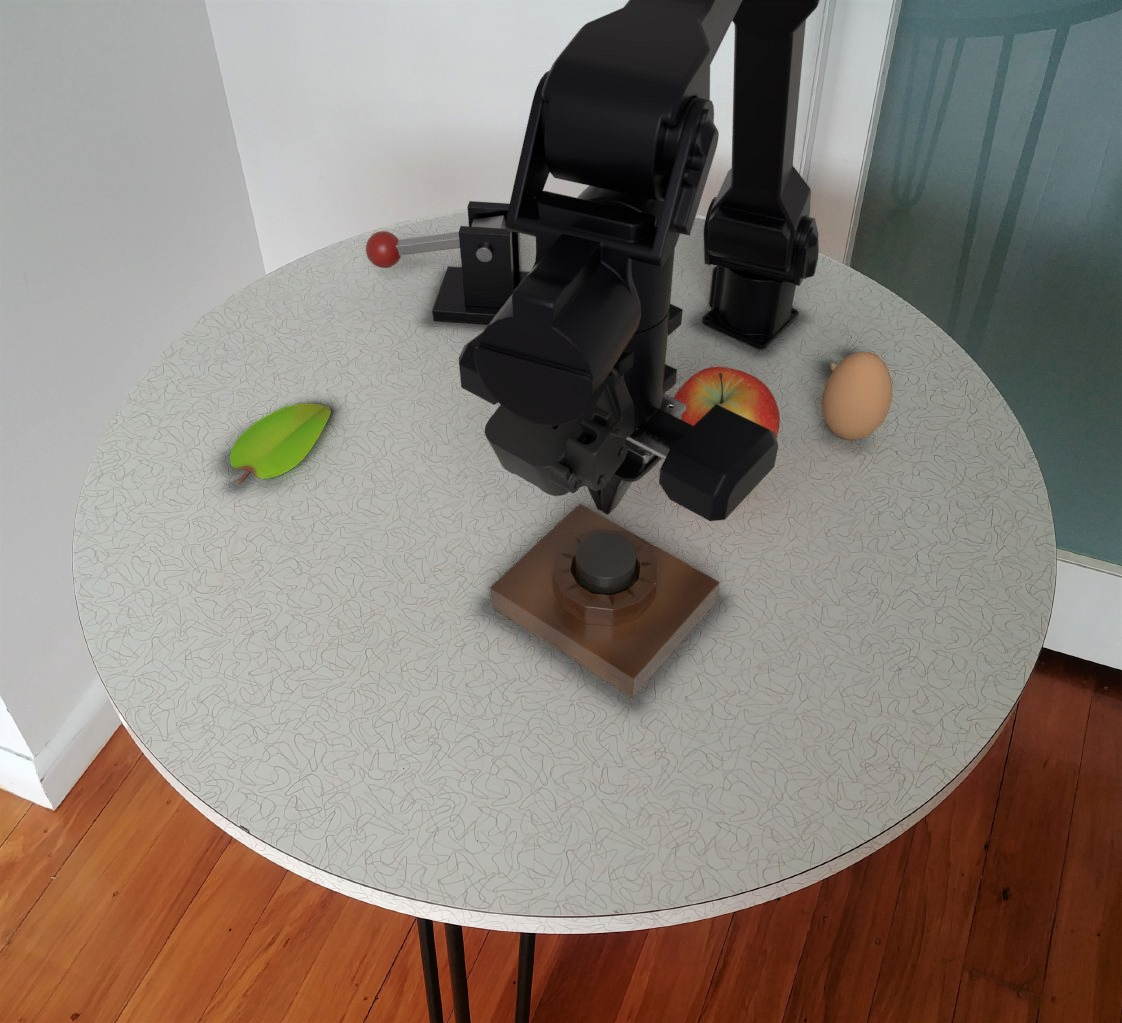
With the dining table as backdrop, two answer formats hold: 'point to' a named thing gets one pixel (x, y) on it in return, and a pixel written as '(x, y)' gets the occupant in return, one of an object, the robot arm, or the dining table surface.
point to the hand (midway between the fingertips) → (607, 508)
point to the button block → (605, 603)
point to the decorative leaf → (279, 440)
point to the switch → (418, 243)
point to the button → (605, 563)
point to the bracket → (481, 270)
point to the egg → (857, 396)
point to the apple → (729, 396)
